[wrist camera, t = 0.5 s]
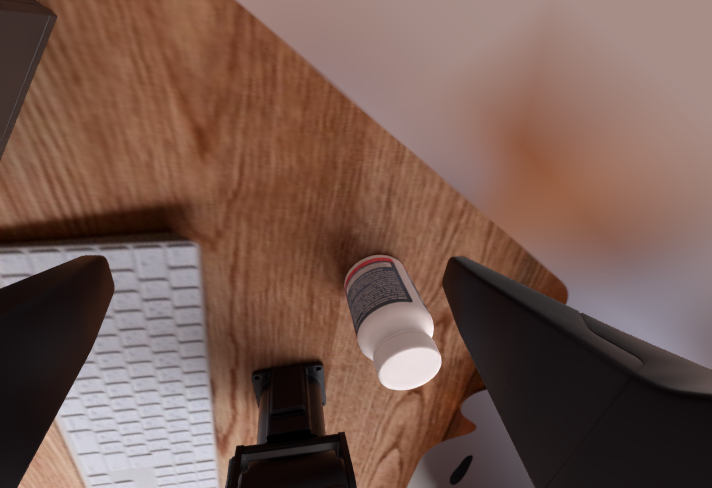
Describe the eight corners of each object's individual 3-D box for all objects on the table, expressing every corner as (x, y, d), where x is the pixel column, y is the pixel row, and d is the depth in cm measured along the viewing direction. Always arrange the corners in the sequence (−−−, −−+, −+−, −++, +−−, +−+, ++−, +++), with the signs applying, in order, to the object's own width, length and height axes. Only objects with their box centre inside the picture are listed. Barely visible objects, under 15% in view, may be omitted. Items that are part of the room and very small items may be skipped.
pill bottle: (330, 288, 27) (348, 384, 19) (370, 242, 25) (407, 326, 18) (378, 312, 29) (411, 405, 22) (418, 271, 27) (468, 356, 20)
